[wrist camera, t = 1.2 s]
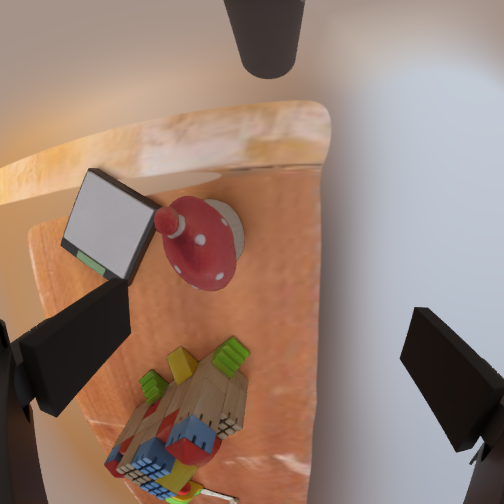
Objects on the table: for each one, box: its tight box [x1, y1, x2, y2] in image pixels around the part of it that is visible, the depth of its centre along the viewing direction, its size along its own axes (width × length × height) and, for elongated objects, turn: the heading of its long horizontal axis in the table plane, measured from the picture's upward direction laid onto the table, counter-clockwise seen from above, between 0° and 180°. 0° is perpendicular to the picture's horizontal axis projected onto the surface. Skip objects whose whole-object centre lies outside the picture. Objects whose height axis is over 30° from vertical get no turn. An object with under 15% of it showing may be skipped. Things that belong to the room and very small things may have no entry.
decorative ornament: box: [154, 196, 244, 291], centre depth 30 cm, size 9×6×15 cm
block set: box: [104, 336, 250, 500], centre depth 35 cm, size 28×14×19 cm, turn 133°
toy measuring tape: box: [165, 480, 239, 504], centre depth 47 cm, size 6×20×7 cm, turn 63°
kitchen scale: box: [60, 168, 162, 287], centre depth 37 cm, size 12×12×3 cm
